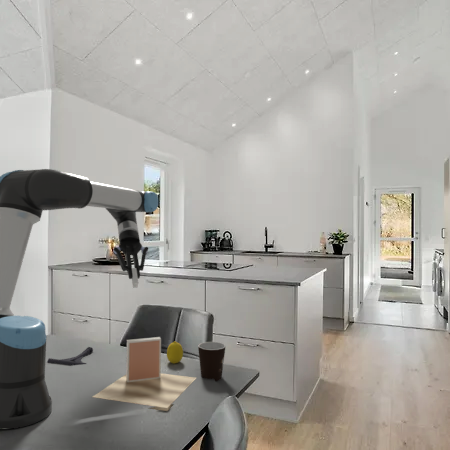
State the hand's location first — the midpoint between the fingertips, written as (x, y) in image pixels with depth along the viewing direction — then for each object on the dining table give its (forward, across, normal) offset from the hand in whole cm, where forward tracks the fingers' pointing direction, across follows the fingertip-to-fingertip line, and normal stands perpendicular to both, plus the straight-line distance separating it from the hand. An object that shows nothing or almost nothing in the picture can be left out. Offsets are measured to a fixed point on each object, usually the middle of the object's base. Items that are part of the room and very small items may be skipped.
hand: (135, 285), depth 138 cm
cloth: (+36, 0, -2) cm, 36 cm away
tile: (+31, 0, -6) cm, 31 cm away
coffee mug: (+34, -21, -4) cm, 40 cm away
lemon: (+24, -12, -15) cm, 31 cm away
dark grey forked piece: (+11, +18, -28) cm, 35 cm away
